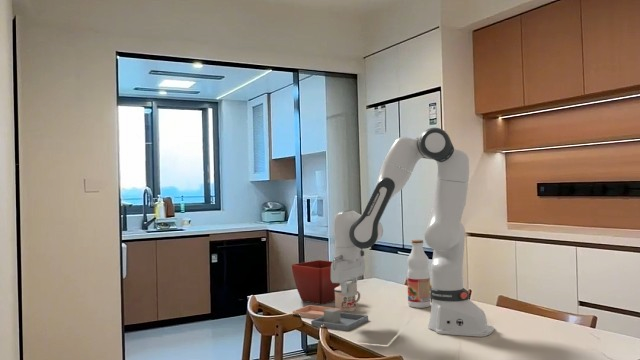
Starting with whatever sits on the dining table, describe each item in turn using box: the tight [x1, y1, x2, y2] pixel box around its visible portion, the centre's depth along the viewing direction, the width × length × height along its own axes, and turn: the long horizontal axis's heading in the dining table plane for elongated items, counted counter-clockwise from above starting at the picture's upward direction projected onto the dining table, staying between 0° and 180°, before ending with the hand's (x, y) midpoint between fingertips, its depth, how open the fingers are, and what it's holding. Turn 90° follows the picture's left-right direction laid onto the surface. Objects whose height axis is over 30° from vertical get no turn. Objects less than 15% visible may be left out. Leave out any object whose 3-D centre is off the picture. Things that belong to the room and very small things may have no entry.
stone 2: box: [341, 281, 358, 297], centre depth 193 cm, size 4×4×4 cm
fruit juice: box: [406, 239, 431, 309], centre depth 222 cm, size 9×9×28 cm
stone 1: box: [324, 307, 341, 323], centre depth 197 cm, size 4×4×4 cm
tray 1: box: [292, 304, 343, 320], centre depth 209 cm, size 16×12×2 cm
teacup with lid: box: [334, 286, 361, 312], centre depth 219 cm, size 12×9×12 cm
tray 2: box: [311, 311, 369, 332], centre depth 195 cm, size 15×16×2 cm
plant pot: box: [291, 259, 340, 305], centre depth 238 cm, size 19×19×17 cm
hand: (349, 291), depth 193 cm, fingers closed on stone 2, 5 cm apart
